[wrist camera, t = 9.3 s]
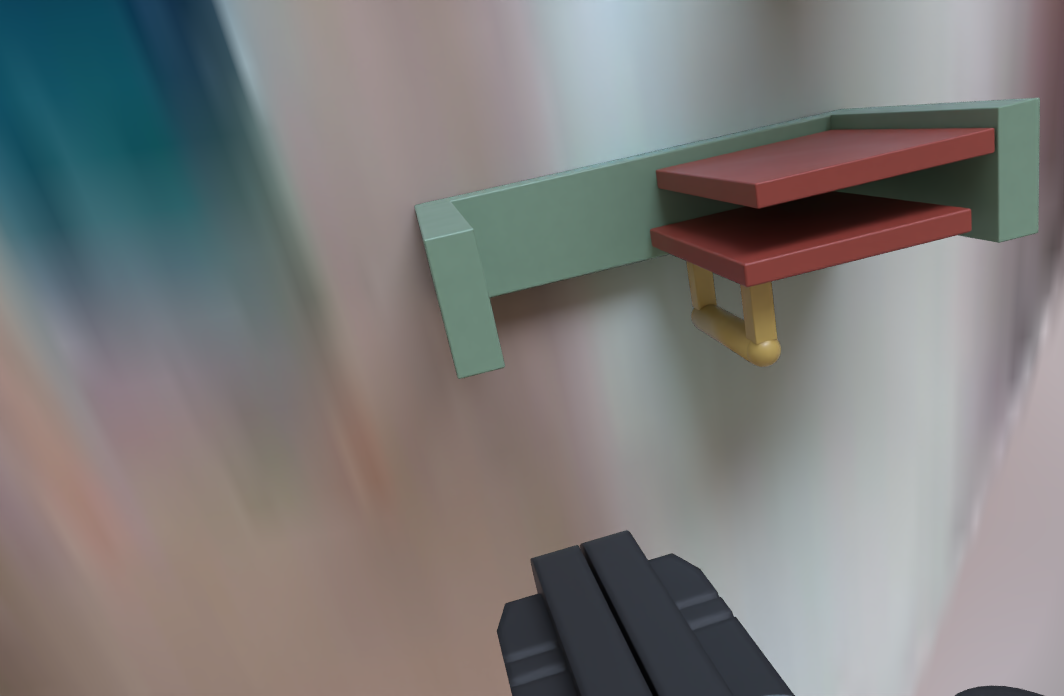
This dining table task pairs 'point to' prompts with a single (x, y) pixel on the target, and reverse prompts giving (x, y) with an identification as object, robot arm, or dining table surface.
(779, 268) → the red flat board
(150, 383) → the dining table surface
